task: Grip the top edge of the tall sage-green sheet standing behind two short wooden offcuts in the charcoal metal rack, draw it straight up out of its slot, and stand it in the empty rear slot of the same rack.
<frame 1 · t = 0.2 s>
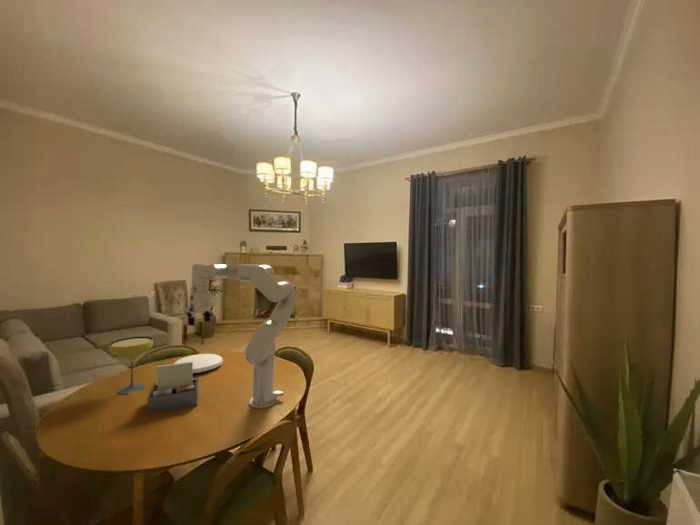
hand: (199, 323, 142), 37 cm above the table, tool pointing down, fingers open, 9 cm apart
cocktail glass: (131, 389, 148), on the table
sage sheet: (175, 401, 135), point 1 cm above the table, touching rack
plate: (198, 368, 178), on the table
grey offcut: (162, 408, 129), point 1 cm above the table, touching rack
rack: (175, 403, 135), on the table
walnut offcut: (185, 404, 133), point 1 cm above the table, touching rack
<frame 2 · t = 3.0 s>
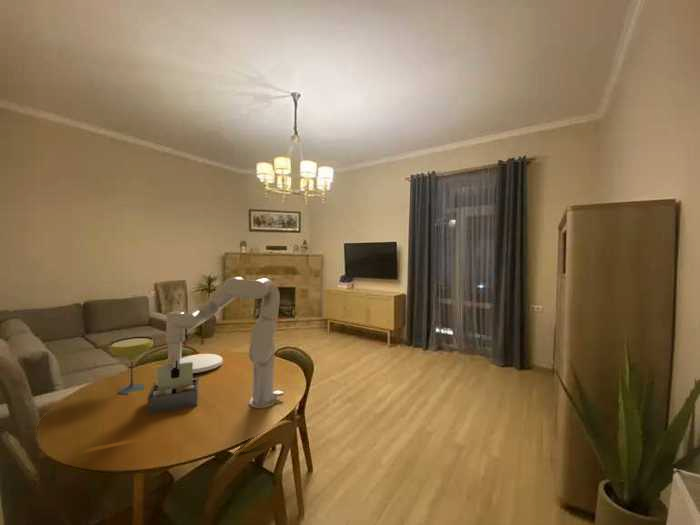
hand: (175, 376, 135), 13 cm above the table, tool pointing down, fingers closed on sage sheet, 1 cm apart
sage sheet: (175, 401, 135), point 1 cm above the table, touching gripper
everything else where it was.
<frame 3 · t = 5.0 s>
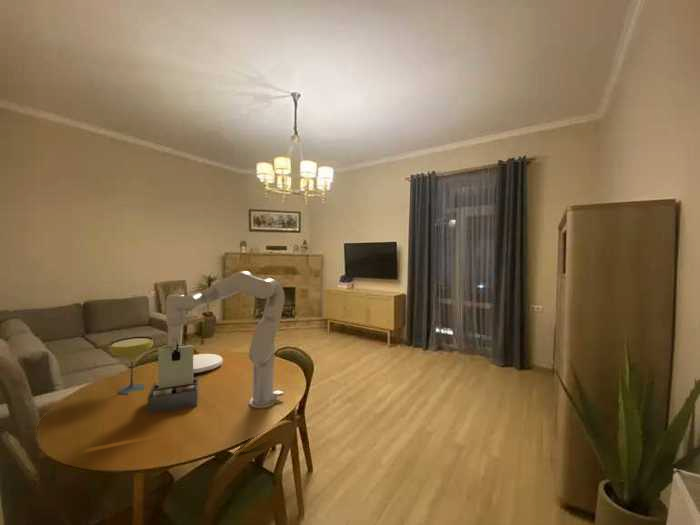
hand: (176, 359, 134), 21 cm above the table, tool pointing down, fingers closed on sage sheet, 1 cm apart
sage sheet: (176, 385, 135), point 9 cm above the table, touching gripper
everything else where it was.
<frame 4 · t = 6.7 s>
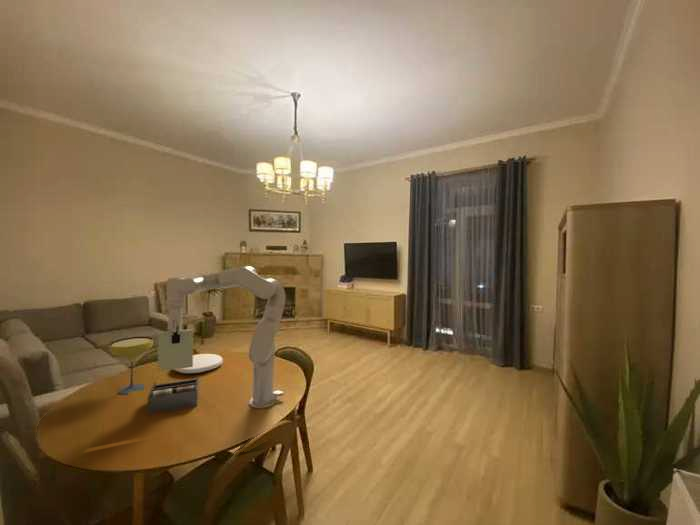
hand: (176, 342, 135), 29 cm above the table, tool pointing down, fingers closed on sage sheet, 1 cm apart
sage sheet: (175, 368, 135), point 17 cm above the table, touching gripper
everything else where it was.
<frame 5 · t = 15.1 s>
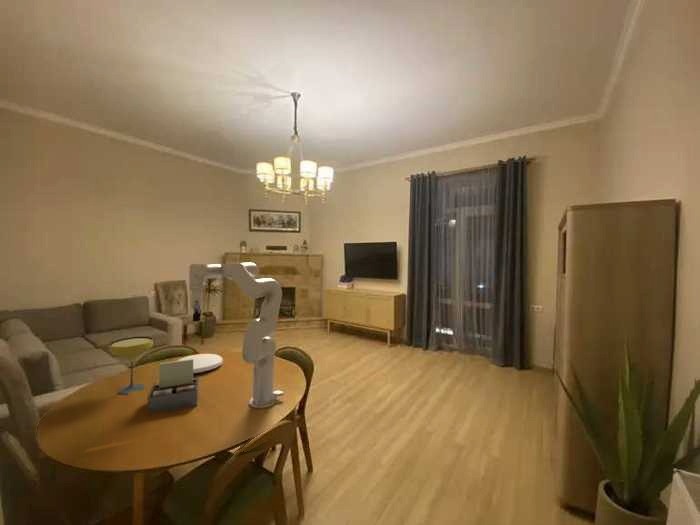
hand: (197, 319, 152), 36 cm above the table, tool pointing down, fingers open, 9 cm apart
sage sheet: (176, 398, 138), point 1 cm above the table, touching rack
everything else where it was.
at the end: sage sheet 0.1 cm from the target spot on the rack, point 1.0 cm above the rack's base; sage sheet tilted 0°; the gripper is holding nothing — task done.
